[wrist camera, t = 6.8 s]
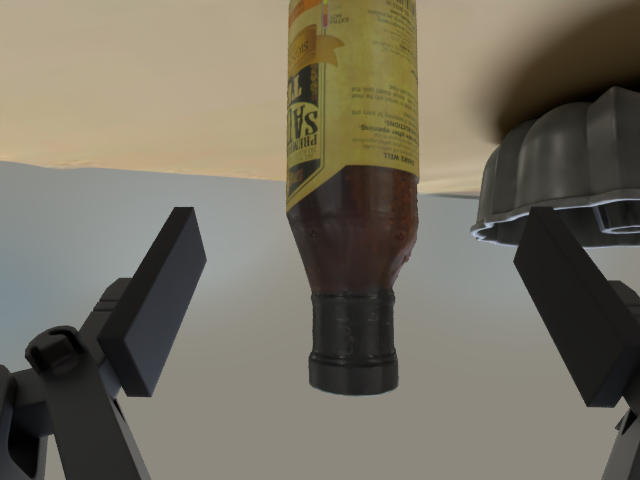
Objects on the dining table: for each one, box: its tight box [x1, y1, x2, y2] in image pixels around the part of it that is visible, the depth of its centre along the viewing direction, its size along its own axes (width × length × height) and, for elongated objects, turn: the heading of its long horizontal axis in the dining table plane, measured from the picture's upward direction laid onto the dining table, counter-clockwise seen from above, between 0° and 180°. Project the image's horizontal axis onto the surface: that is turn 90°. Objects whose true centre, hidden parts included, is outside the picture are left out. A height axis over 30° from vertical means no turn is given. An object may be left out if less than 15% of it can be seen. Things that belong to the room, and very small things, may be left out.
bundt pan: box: [470, 86, 640, 248], centre depth 37 cm, size 26×26×10 cm
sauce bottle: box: [286, 0, 419, 397], centre depth 20 cm, size 6×6×20 cm
